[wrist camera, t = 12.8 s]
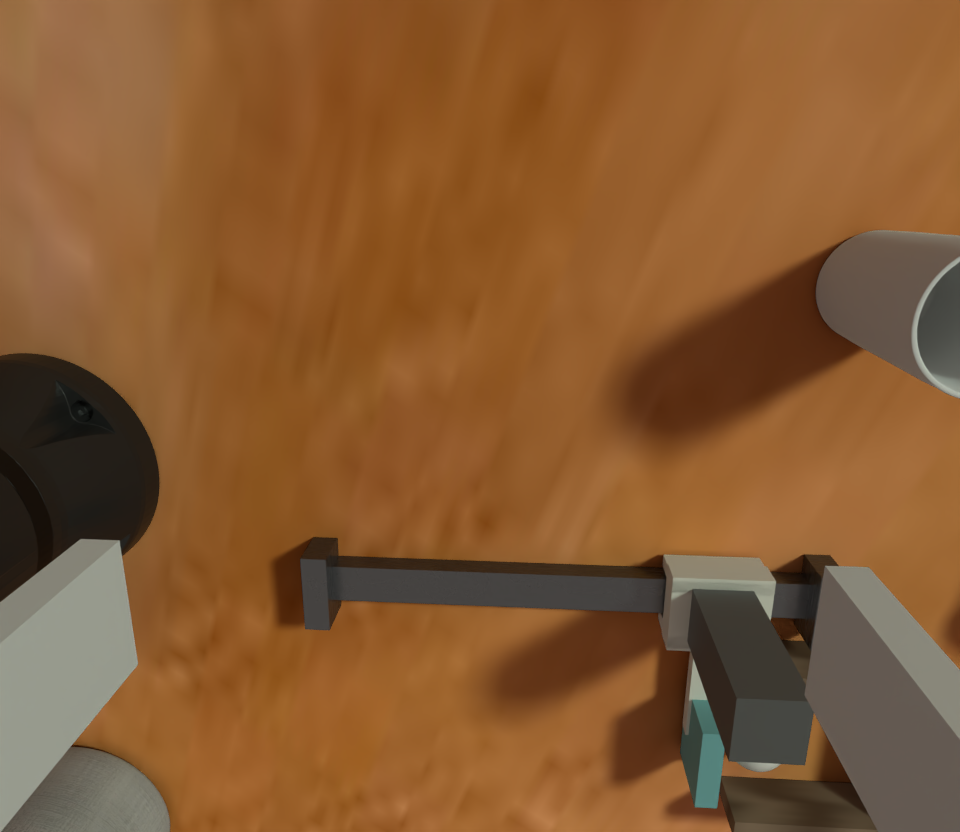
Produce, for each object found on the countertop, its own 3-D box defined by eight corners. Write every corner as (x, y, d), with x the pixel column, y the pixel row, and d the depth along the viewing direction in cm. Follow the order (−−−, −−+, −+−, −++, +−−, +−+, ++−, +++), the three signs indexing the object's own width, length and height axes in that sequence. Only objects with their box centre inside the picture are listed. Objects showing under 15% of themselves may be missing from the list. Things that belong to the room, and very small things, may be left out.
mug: (824, 360, 44) (929, 422, 32) (796, 251, 42) (895, 275, 31) (1004, 301, 42) (1181, 344, 31) (982, 184, 40) (1161, 184, 29)
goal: (718, 790, 53) (733, 836, 49) (737, 638, 49) (754, 676, 46) (880, 798, 52) (908, 846, 49) (912, 645, 49) (944, 684, 45)
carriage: (646, 749, 52) (683, 931, 39) (663, 551, 48) (712, 684, 35) (734, 754, 52) (800, 938, 39) (759, 555, 47) (843, 690, 35)
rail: (317, 604, 51) (305, 629, 48) (313, 537, 49) (300, 558, 46) (819, 624, 49) (837, 651, 46) (830, 555, 47) (849, 579, 44)
